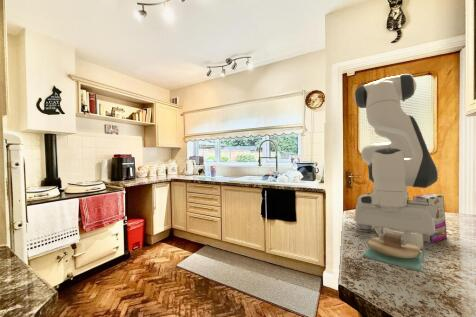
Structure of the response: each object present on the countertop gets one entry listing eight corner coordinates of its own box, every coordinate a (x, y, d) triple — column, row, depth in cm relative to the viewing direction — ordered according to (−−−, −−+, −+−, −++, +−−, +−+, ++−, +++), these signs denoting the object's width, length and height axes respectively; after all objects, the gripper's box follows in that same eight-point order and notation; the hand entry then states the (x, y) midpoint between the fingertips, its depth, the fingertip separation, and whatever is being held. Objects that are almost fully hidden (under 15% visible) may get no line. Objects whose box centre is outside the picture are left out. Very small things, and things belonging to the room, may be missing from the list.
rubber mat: (373, 243, 74) (373, 241, 74) (423, 254, 65) (423, 252, 65) (363, 256, 65) (362, 254, 65) (420, 271, 55) (420, 269, 55)
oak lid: (373, 238, 74) (373, 226, 74) (421, 247, 65) (420, 234, 65) (363, 249, 65) (363, 236, 65) (418, 262, 56) (417, 247, 56)
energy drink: (374, 232, 86) (372, 203, 86) (360, 232, 87) (358, 203, 87) (368, 228, 91) (367, 201, 91) (355, 228, 92) (354, 201, 92)
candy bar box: (430, 234, 81) (428, 193, 82) (447, 238, 77) (444, 194, 77) (414, 239, 77) (412, 195, 77) (431, 244, 72) (428, 197, 73)
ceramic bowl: (387, 236, 81) (386, 222, 81) (424, 243, 73) (423, 227, 73) (381, 244, 73) (380, 229, 73) (422, 253, 66) (421, 236, 66)
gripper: (435, 200, 60) (438, 247, 60) (357, 194, 75) (359, 232, 74) (434, 204, 56) (437, 255, 55) (352, 197, 70) (354, 237, 70)
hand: (392, 242), depth 65 cm, fingers closed on oak lid, 4 cm apart
